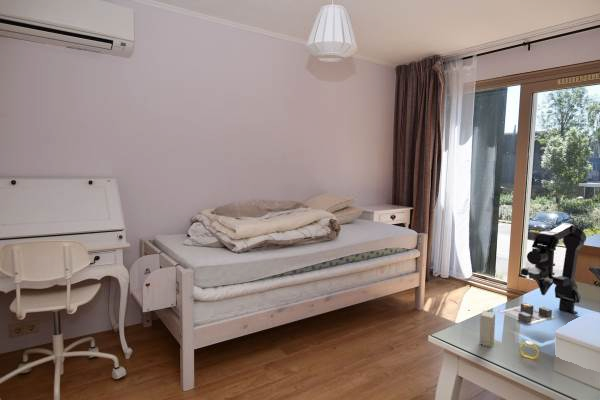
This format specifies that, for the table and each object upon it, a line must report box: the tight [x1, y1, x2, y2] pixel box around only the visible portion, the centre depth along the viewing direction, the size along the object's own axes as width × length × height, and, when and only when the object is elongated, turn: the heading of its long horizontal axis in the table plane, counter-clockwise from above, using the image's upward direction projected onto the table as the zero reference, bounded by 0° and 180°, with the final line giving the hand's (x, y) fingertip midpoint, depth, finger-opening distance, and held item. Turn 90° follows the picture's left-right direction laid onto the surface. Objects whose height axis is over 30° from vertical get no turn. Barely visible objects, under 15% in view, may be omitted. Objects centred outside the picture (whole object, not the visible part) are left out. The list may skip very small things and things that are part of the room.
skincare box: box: [479, 310, 496, 348], centre depth 147 cm, size 6×4×12 cm
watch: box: [519, 340, 540, 360], centre depth 136 cm, size 6×3×6 cm, turn 52°
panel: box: [497, 305, 557, 326], centre depth 171 cm, size 18×16×4 cm
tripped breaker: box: [520, 302, 534, 315], centre depth 171 cm, size 3×4×5 cm
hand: (543, 295), depth 164 cm, fingers closed
